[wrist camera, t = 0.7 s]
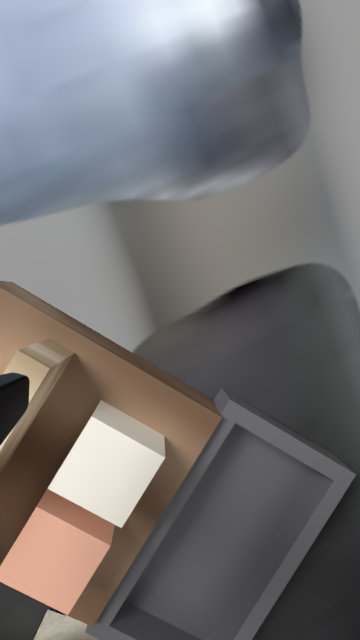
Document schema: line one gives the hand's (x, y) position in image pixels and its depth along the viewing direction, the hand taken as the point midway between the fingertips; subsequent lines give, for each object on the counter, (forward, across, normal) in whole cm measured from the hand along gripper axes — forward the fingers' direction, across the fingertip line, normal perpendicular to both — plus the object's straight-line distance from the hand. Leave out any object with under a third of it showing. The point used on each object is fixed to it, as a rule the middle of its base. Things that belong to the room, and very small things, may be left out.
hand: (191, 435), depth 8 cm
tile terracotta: (+6, +6, +12) cm, 15 cm away
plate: (+9, +8, +10) cm, 16 cm away
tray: (+10, -3, +14) cm, 17 cm away
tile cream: (+7, +4, +8) cm, 11 cm away
